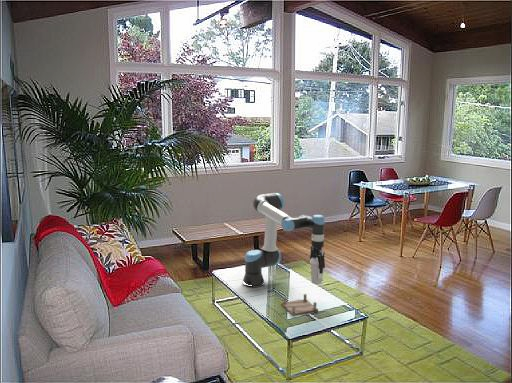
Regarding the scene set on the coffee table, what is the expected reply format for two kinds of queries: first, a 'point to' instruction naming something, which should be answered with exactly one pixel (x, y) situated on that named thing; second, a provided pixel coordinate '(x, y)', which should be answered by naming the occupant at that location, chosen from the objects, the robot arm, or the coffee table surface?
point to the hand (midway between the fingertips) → (316, 275)
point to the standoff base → (299, 306)
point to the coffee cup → (315, 271)
